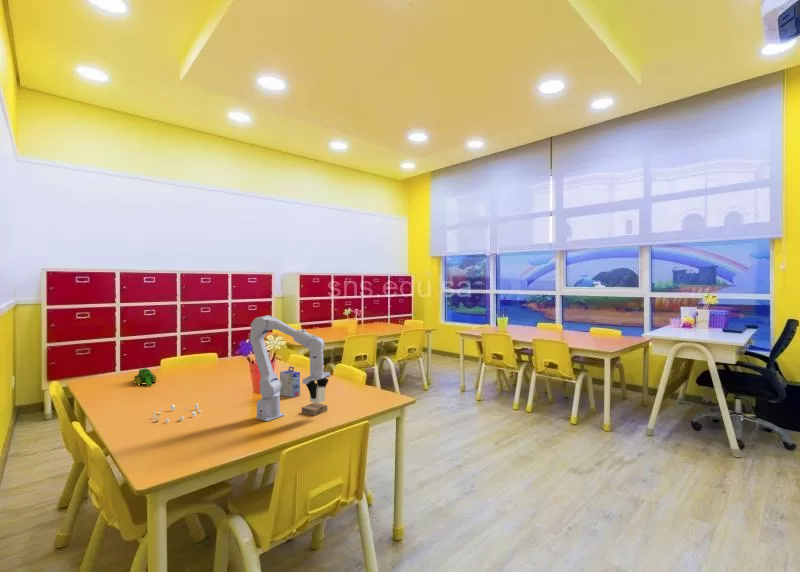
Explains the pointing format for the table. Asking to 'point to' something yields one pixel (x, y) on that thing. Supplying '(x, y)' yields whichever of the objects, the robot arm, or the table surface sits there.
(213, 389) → the table surface
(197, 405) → the game piece set
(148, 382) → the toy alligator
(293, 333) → the robot arm
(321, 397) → the offwhite block
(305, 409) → the walnut base
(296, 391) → the ink cartridge box
